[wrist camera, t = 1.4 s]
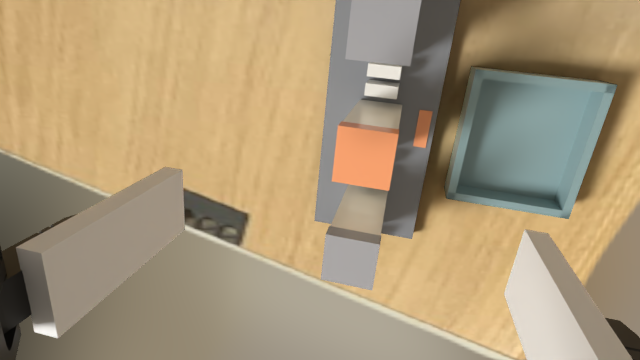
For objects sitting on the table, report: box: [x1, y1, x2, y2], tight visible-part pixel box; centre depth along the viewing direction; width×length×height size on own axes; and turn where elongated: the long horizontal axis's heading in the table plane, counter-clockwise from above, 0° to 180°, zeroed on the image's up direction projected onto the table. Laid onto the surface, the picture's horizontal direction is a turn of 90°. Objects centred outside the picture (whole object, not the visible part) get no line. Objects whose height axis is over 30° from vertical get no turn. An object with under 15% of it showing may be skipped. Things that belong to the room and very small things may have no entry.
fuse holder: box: [315, 0, 461, 239], centre depth 32 cm, size 21×9×4 cm, turn 174°
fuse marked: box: [332, 99, 402, 191], centre depth 28 cm, size 4×4×10 cm
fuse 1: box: [345, 0, 421, 66], centre depth 25 cm, size 4×4×10 cm
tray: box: [444, 66, 617, 219], centre depth 30 cm, size 10×9×2 cm
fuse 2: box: [321, 184, 388, 290], centre depth 30 cm, size 4×4×10 cm
